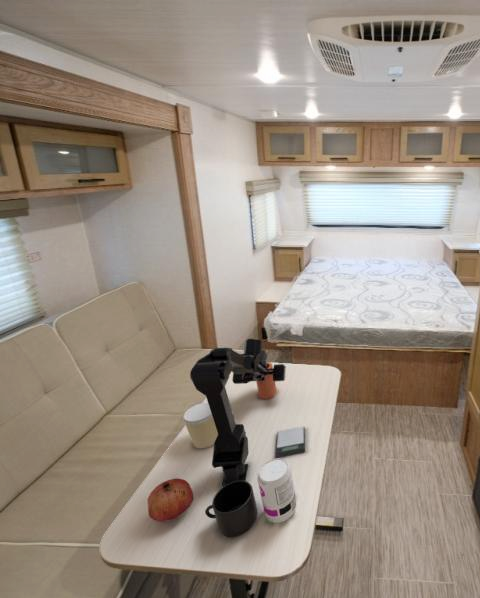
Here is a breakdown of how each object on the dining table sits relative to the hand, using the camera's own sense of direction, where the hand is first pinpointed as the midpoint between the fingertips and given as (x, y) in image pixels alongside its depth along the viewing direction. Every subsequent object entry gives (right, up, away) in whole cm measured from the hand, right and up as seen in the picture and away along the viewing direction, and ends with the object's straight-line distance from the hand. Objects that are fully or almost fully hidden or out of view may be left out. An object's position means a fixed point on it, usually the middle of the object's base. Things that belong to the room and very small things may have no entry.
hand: (265, 377), depth 138 cm
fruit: (-7, -26, -45) cm, 52 cm away
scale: (+17, -17, -22) cm, 33 cm away
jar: (0, -7, +2) cm, 7 cm away
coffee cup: (-12, -17, -21) cm, 29 cm away
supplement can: (+22, -26, -44) cm, 56 cm away
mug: (+10, -27, -47) cm, 55 cm away
